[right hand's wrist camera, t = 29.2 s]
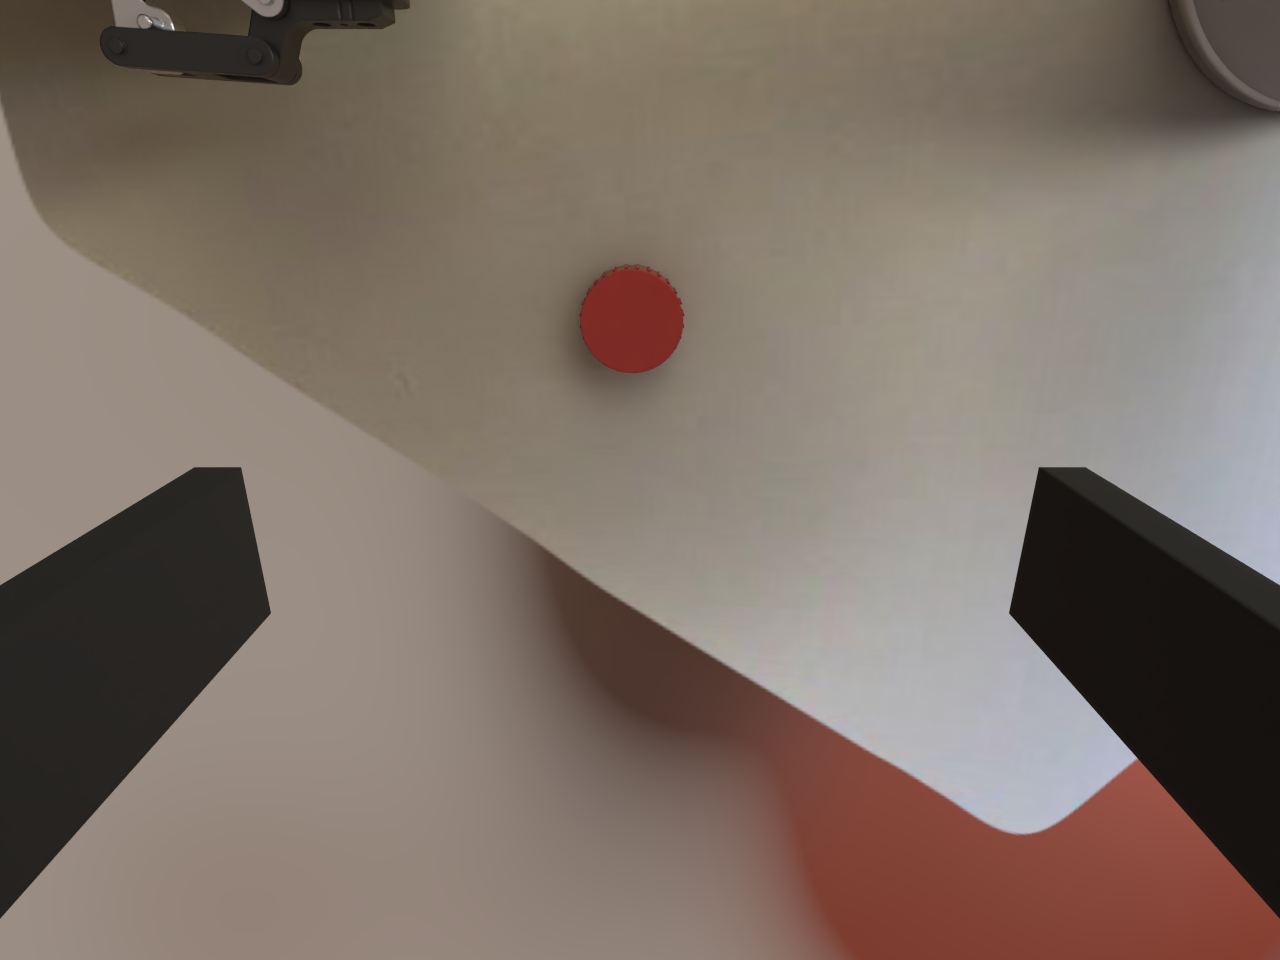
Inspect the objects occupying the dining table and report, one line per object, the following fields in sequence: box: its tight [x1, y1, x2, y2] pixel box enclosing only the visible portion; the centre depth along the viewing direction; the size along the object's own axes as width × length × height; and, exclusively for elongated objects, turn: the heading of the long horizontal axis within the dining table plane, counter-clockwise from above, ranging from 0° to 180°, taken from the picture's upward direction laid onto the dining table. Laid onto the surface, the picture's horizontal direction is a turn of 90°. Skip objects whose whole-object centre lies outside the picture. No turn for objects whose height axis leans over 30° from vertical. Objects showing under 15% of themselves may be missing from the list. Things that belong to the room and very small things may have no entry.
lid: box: [580, 264, 684, 373], centre depth 36 cm, size 5×5×2 cm
